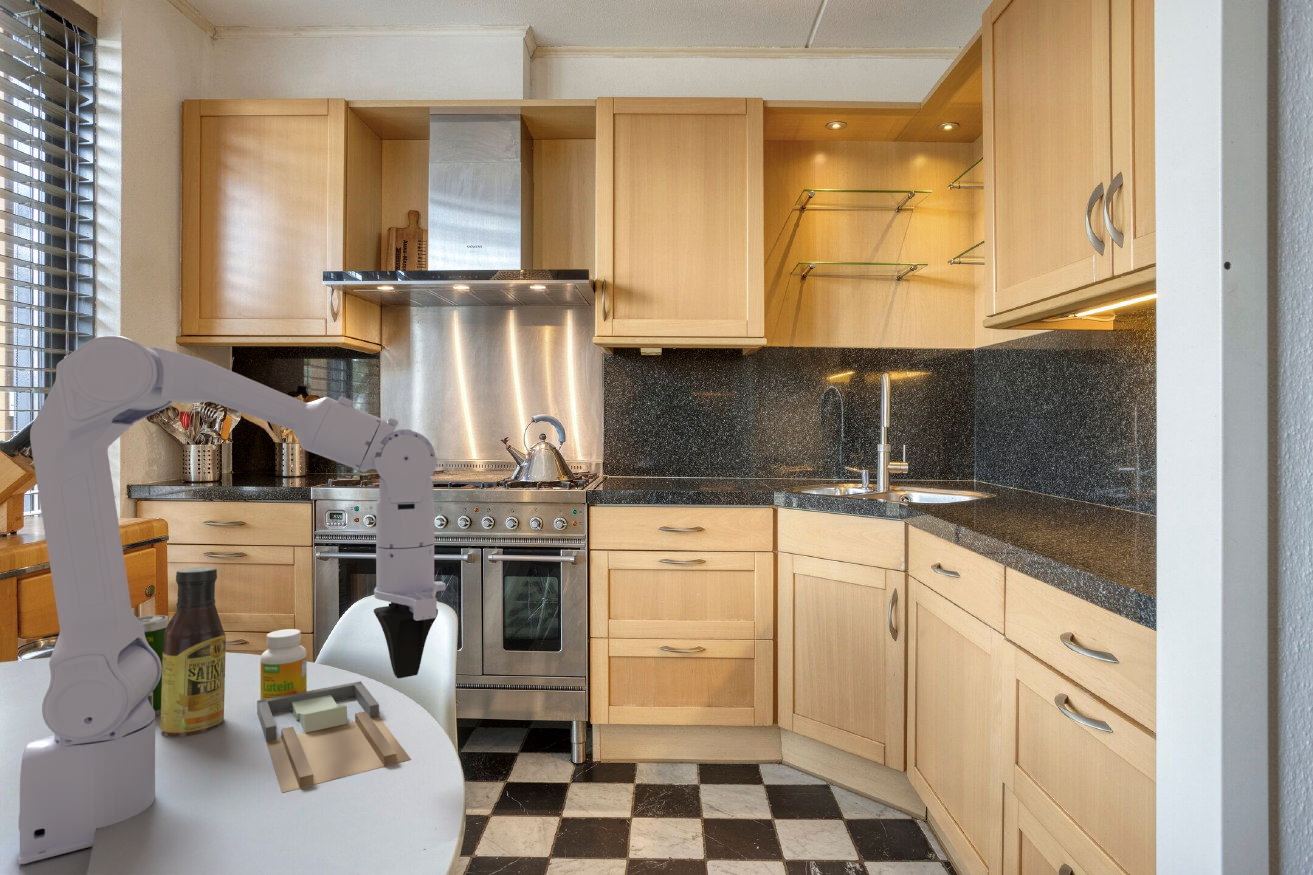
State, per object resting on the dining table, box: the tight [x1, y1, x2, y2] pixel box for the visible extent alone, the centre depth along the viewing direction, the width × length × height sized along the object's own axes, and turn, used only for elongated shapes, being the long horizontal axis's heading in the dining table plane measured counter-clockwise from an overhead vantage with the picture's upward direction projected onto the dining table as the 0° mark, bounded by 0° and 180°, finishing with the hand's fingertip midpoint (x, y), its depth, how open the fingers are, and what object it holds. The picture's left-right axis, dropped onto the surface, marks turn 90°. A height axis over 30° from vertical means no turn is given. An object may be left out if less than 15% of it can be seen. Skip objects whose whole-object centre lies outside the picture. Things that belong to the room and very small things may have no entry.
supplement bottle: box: [259, 628, 308, 700], centre depth 92 cm, size 5×5×10 cm
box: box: [256, 680, 380, 742], centre depth 85 cm, size 12×10×3 cm
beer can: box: [136, 614, 169, 717], centre depth 90 cm, size 5×5×12 cm
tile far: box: [291, 695, 338, 722], centre depth 87 cm, size 4×4×2 cm
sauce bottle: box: [159, 566, 227, 738], centre depth 82 cm, size 7×6×20 cm
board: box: [265, 710, 412, 794], centre depth 75 cm, size 12×14×2 cm
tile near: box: [298, 704, 349, 733], centre depth 83 cm, size 4×4×2 cm
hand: (406, 675), depth 73 cm, fingers closed
